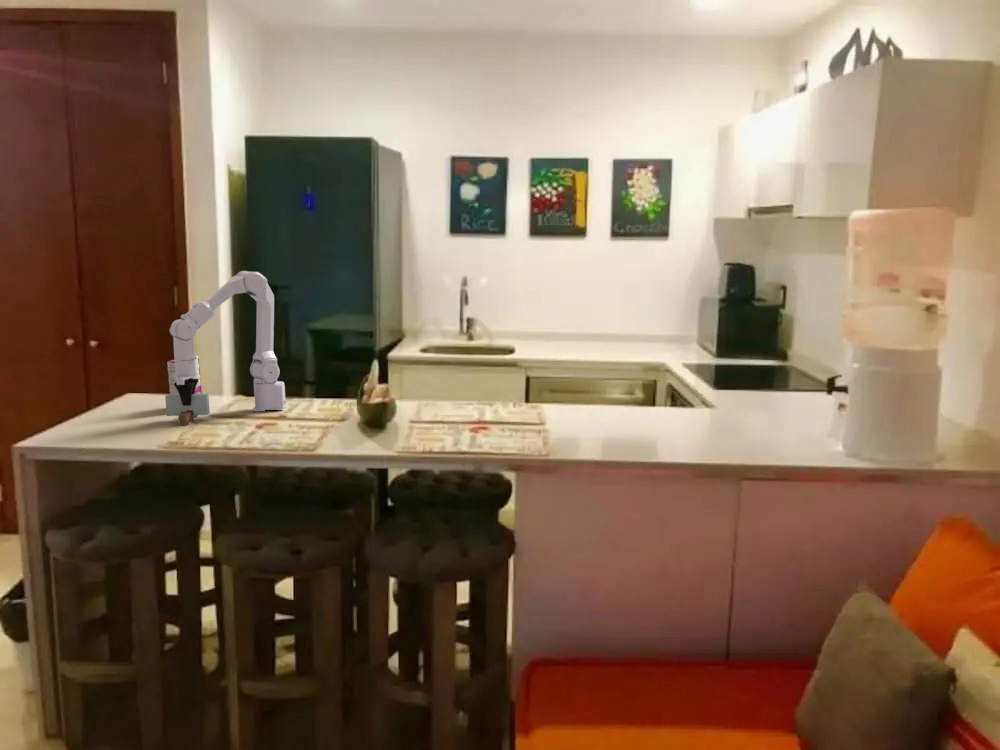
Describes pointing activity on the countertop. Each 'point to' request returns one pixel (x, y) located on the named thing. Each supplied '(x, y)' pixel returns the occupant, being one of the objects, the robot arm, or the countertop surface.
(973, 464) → the countertop surface
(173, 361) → the candy bar box
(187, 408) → the tapered grey panel
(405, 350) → the countertop surface
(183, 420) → the walnut slat
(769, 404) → the countertop surface
